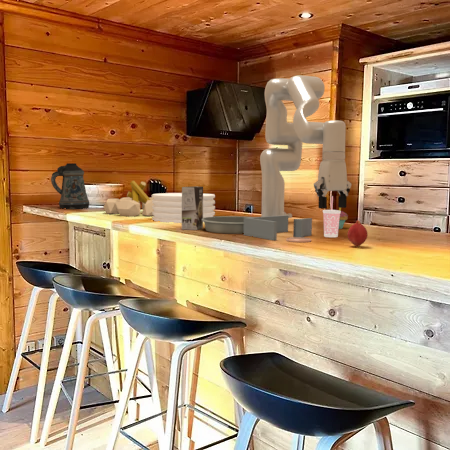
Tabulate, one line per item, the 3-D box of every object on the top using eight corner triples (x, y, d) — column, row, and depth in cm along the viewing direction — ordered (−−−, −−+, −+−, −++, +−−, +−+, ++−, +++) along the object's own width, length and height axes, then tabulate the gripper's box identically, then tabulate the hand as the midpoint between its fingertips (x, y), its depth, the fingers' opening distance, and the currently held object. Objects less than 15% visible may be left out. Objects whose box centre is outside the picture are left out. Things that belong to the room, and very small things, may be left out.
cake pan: (219, 236, 178) (219, 223, 177) (191, 228, 199) (191, 217, 199) (279, 233, 189) (279, 220, 188) (246, 226, 211) (246, 215, 210)
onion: (344, 245, 158) (345, 219, 157) (362, 245, 158) (363, 219, 157) (350, 248, 152) (351, 221, 151) (369, 248, 152) (370, 221, 152)
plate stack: (140, 219, 233) (140, 193, 232) (189, 216, 252) (189, 192, 251) (177, 224, 212) (177, 196, 211) (227, 220, 231) (227, 195, 230)
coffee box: (197, 230, 192) (197, 186, 191) (181, 229, 194) (181, 186, 192) (203, 227, 201) (203, 186, 200) (187, 227, 203) (187, 185, 201)
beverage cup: (318, 236, 178) (319, 195, 176) (327, 234, 183) (328, 195, 181) (334, 238, 174) (336, 196, 173) (343, 236, 179) (344, 196, 177)
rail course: (285, 231, 191) (286, 215, 191) (317, 236, 178) (317, 219, 177) (243, 234, 180) (243, 217, 179) (273, 240, 167) (274, 221, 166)
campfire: (93, 213, 262) (93, 179, 260) (149, 210, 285) (149, 179, 283) (131, 218, 236) (130, 181, 235) (189, 214, 259) (189, 180, 257)
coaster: (299, 238, 173) (299, 236, 173) (316, 241, 166) (316, 239, 166) (281, 240, 168) (281, 238, 168) (298, 243, 161) (298, 241, 161)
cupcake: (349, 227, 206) (350, 197, 205) (344, 229, 199) (345, 198, 197) (328, 226, 210) (329, 196, 209) (322, 228, 202) (323, 197, 201)
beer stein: (95, 208, 293) (94, 163, 290) (69, 210, 276) (68, 163, 273) (75, 206, 301) (74, 163, 298) (48, 208, 285) (47, 163, 282)
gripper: (342, 158, 183) (341, 206, 185) (307, 157, 173) (306, 208, 175) (359, 158, 177) (358, 207, 179) (323, 156, 167) (322, 209, 169)
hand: (332, 208), depth 177 cm, fingers open, 9 cm apart
